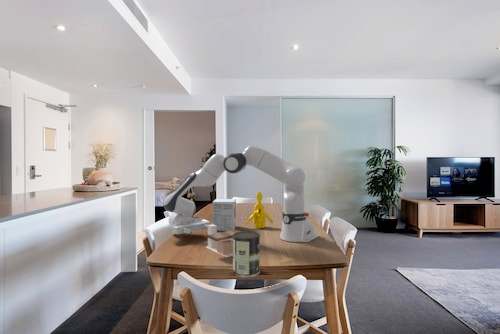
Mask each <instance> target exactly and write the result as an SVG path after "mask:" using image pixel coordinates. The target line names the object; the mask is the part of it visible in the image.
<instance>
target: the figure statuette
mask: <svg viewBox="0 0 500 334" xmlns="http://www.w3.org/2000/svg"><path fill="white" fill-rule="evenodd" d="M255 198H256V200H257V203H256V204H255V205H254V207H253V210H254V211H253V213H252V215H250V216H249V218H248V219H247V220H246V222H245V224H246V225H247V224H249V223H250V222H251V221H252V223H253V224H252V225H253V226H254V228H255V229H262V228H263V229H264V228H265V226H266V219H267V220H268V221H269V223H271V224H274V223H275V221H274V220H273V219H272V218H271V217H270V215H269V214H268V213H267V212H266V210H265V206H264V205H263V204H262V200H263V195H262V192H259V191H258V192H256V195H255Z"/></svg>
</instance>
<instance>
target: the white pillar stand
mask: <svg viewBox="0 0 500 334" xmlns="http://www.w3.org/2000/svg"><path fill="white" fill-rule="evenodd" d="M216 233H218V231H217V225H214V224H212V223H211V224H210V225H208V230H207V236H208V235H211V234H216ZM204 248H206V249H208V250H210V251H212V252H214V253H216V254H219V255H221V256H223V257H225V258H229V257H233V253H229V254H226V255H222V254H220V253H218V252H217V241H214V240H212V239H209V238H208V237H207V246H204Z"/></svg>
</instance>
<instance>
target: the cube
mask: <svg viewBox="0 0 500 334" xmlns="http://www.w3.org/2000/svg"><path fill="white" fill-rule="evenodd" d="M217 252H218V253H217V254H219V253H220V254H219V255H221V254H222V255H221V256H223V255H226V254H229V253H233V240H231V239H226V240H221V241H217Z"/></svg>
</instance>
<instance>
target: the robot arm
mask: <svg viewBox="0 0 500 334" xmlns="http://www.w3.org/2000/svg"><path fill="white" fill-rule="evenodd" d="M247 166H250V167H253V168H255V169H257V170H259V171H261V172H263V173H264V174H265V175H268V176H270V177H271V178H274V179H275V180H277V181H279V182H280V183H282V184H283V206H282V207H283V211H282V222H281V229H280V231H281V232H280V234H279V236H280V237H279V239H281V240H282V241H285V242H292V243H308V242H311V241H313V240H315V239H317V238H319V234H318V233H316V232H315V227H314V225H313V223H311V222H310V221H309V220H307V217H310V213H309V212H305V191H304V190H305V189H304V186H305V185H304V183H305V180H306V174H305V171H304V170H303V169H302V168H301V167H299V166H297V165H296V164H293V163H291V162H290V161H287V160H285V159H283V158H281V157H280V156H278V155H276V154H273V153H271V152H269V151H268V150H266V149H264V148H261V147H259V146H255V145H248V146H246V148H245V149H244V150H243V152H232V153H229V154H227V155H226V156H224V155H222V154H220V153H214V154H212V155H211V156H210V157H209V158H208V159H207V160H206V162H204V164H203V166H202V167H201V168H200V169H199V170H197V171H195V172H191V173H189V175H188V176H186V177H185V179H183V181H181V183H179V185H177V186H176V188H174V190H173V191H171V192H170V193H169V194H167V195H166V196H165V198H164V200H163V202H162V203H163V204H162V205H163V208H164V210H165V212H169V213H172V214H171V215H170V216H169V217H168V224H169V226H170V227H169V228H168V229H169V230H170V231H172V233H173V234H174V235H183V234H185V235H188V234H192V233H193V232H199V231H208V225H211V222H210V221H209V220H208V219H204V218H202V217H200V216H195V214H196V212H197V211H196V210H197V208H196V207H197V206H196V204H195V201H193V200H190V199H187V198H184V197H183V196H184V194H185V193H186V192H187V191H188V190H189V189H190V188H192V187H211V186H213V185H215V183H216V182H218V180H219V178H220V177H221V176H222V174H223V173H224V172H227V173H229V174H238V173H241V172H243V171H244V170H245V169H246V167H247Z"/></svg>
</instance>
